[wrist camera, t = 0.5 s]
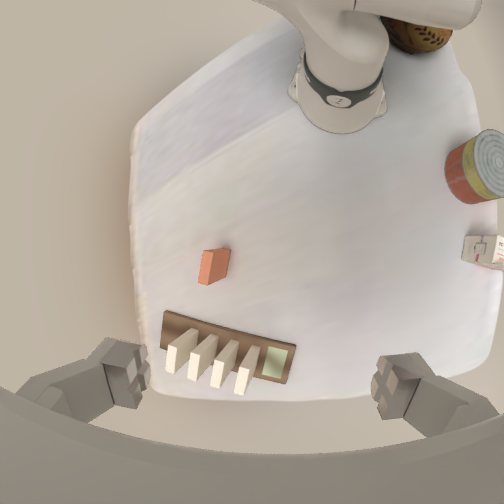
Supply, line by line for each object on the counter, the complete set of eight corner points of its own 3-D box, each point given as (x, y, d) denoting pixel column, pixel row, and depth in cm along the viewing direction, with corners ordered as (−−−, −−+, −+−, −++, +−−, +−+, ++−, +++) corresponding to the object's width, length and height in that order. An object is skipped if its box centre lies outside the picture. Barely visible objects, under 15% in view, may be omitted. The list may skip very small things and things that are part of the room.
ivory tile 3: (226, 362, 54) (209, 385, 44) (231, 339, 53) (214, 359, 44) (234, 364, 54) (219, 388, 44) (239, 341, 53) (224, 362, 43)
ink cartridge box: (495, 244, 44) (540, 247, 29) (491, 269, 44) (534, 278, 30) (464, 234, 45) (507, 233, 31) (459, 259, 46) (501, 267, 31)
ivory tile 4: (207, 356, 55) (187, 378, 45) (210, 333, 54) (190, 352, 44) (214, 359, 54) (196, 381, 44) (218, 335, 54) (200, 355, 44)
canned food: (495, 173, 43) (528, 161, 31) (475, 216, 44) (509, 212, 33) (457, 136, 44) (486, 115, 32) (435, 178, 46) (463, 164, 34)
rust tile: (217, 274, 55) (197, 282, 45) (222, 248, 54) (203, 250, 44) (225, 276, 54) (207, 285, 44) (230, 249, 54) (213, 252, 44)
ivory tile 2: (246, 368, 53) (233, 392, 43) (252, 344, 53) (239, 366, 43) (255, 370, 53) (243, 395, 43) (260, 346, 52) (249, 369, 43)
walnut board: (166, 310, 57) (163, 311, 56) (296, 344, 52) (295, 347, 51) (162, 345, 58) (159, 347, 56) (286, 381, 53) (285, 384, 52)
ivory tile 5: (188, 350, 55) (165, 370, 45) (191, 327, 55) (168, 344, 45) (195, 353, 55) (173, 373, 45) (199, 330, 55) (176, 347, 45)
